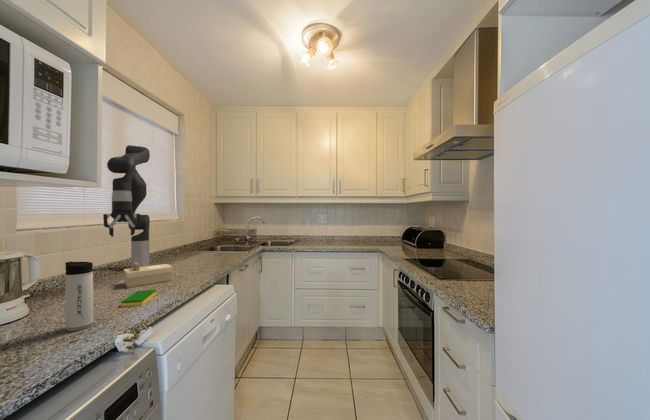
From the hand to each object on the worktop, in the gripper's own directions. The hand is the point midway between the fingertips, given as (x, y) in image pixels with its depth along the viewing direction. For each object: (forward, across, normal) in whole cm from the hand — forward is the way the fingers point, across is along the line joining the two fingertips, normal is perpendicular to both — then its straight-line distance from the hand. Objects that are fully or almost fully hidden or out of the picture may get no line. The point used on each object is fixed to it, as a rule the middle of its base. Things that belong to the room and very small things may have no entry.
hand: (122, 235), depth 126 cm
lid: (+19, -10, 0) cm, 22 cm away
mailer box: (+24, -10, 0) cm, 26 cm away
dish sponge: (+25, -2, +29) cm, 38 cm away
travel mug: (+24, +16, +46) cm, 54 cm away
